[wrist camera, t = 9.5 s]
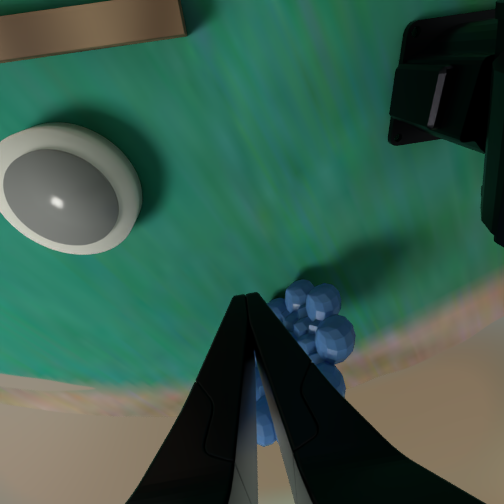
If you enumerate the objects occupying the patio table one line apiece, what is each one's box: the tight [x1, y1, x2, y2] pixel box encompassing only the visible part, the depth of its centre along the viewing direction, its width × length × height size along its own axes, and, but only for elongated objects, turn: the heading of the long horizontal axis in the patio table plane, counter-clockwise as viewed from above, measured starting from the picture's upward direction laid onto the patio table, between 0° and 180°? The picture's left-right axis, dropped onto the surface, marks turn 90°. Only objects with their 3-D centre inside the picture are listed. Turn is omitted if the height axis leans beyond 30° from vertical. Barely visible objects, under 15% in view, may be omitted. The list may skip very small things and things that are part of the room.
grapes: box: [254, 279, 356, 447], centre depth 22 cm, size 12×7×12 cm, turn 140°
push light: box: [0, 122, 142, 255], centre depth 18 cm, size 8×8×2 cm
